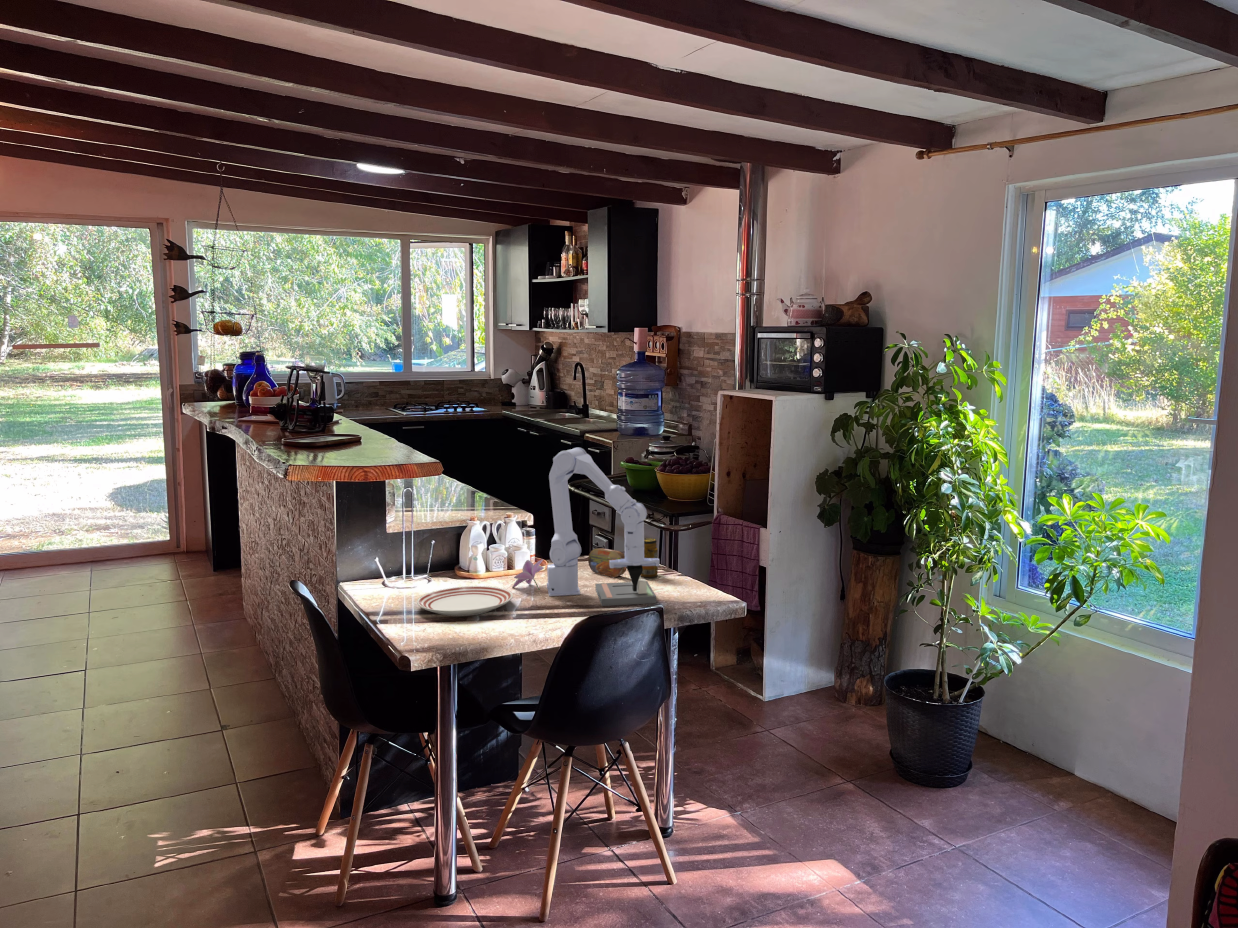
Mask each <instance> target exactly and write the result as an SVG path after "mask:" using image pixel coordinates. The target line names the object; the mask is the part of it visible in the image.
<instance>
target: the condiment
mask: <svg viewBox="0 0 1238 928" xmlns="http://www.w3.org/2000/svg"><path fill="white" fill-rule="evenodd" d="M658 554H659V551H658V548H657V540H656V539H655V538H652V537H651V538H647V537H646V538H645V537H644V558H658ZM658 559H659V558H658ZM642 568H643V571H642V573H641V579H645V580H649V581H654V580H659V579H662V578H667V577H668V576H667V575H663V574H659V573H658V572H659V571H658V570H659V569H658V568H659V566H642Z"/></svg>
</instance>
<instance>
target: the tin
mask: <svg viewBox="0 0 1238 928" xmlns="http://www.w3.org/2000/svg"><path fill="white" fill-rule="evenodd" d="M618 559H625V553H623V552H621V551H620V550H616V549H615V550H614V549H608V548H602V547H601V548H593V549H592V550H590V553H588V557H587V562H588V566H589V568H590V570H591V571H592V573H594V574H596V575H600V576H601V575H602V576H607V577H611V578H612V577H613V578H617V577H621V576H623V575H624V574H625V573H626V572H627V568H626V567H614V568H610V562H609V560H618Z"/></svg>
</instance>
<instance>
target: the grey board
mask: <svg viewBox="0 0 1238 928" xmlns="http://www.w3.org/2000/svg"><path fill="white" fill-rule="evenodd" d="M646 582H647V593H645V594H638V592H637V591H635V592H634V591H633V587H632V583H631V581H623V582H606V583H605V582H603V583H599V582H598V583H595V586H594V587H595V593H596V595H597V598H598V599H599V603H600V606H601V607H605V606H606V607H608V606H624V605H625V606H626V605H644V604H645V605H646V604H657V595H656V593H655V592H654V590H653V589H652V587H651V585H650V584H649V582H648V581H647V580H646Z"/></svg>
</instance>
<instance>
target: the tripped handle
mask: <svg viewBox="0 0 1238 928" xmlns="http://www.w3.org/2000/svg"><path fill="white" fill-rule="evenodd" d="M646 581H647V579H644V578H641V579H639V580H638V583H637V592H638V594H645V593H647V582H648V581H647V582H646Z"/></svg>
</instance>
